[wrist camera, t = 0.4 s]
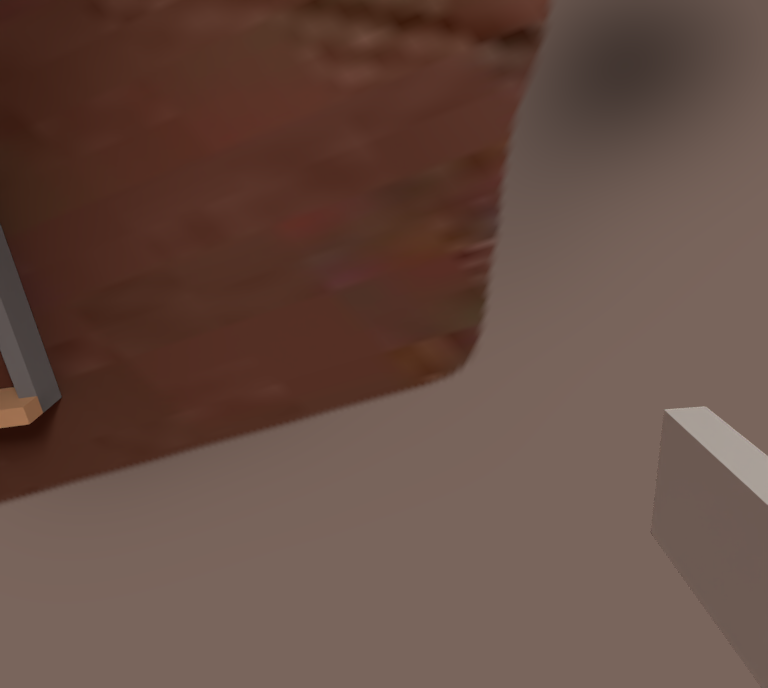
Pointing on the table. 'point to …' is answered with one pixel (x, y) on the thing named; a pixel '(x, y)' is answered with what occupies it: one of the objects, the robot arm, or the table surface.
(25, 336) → the u-shaped frame
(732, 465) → the robot arm
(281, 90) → the table surface
